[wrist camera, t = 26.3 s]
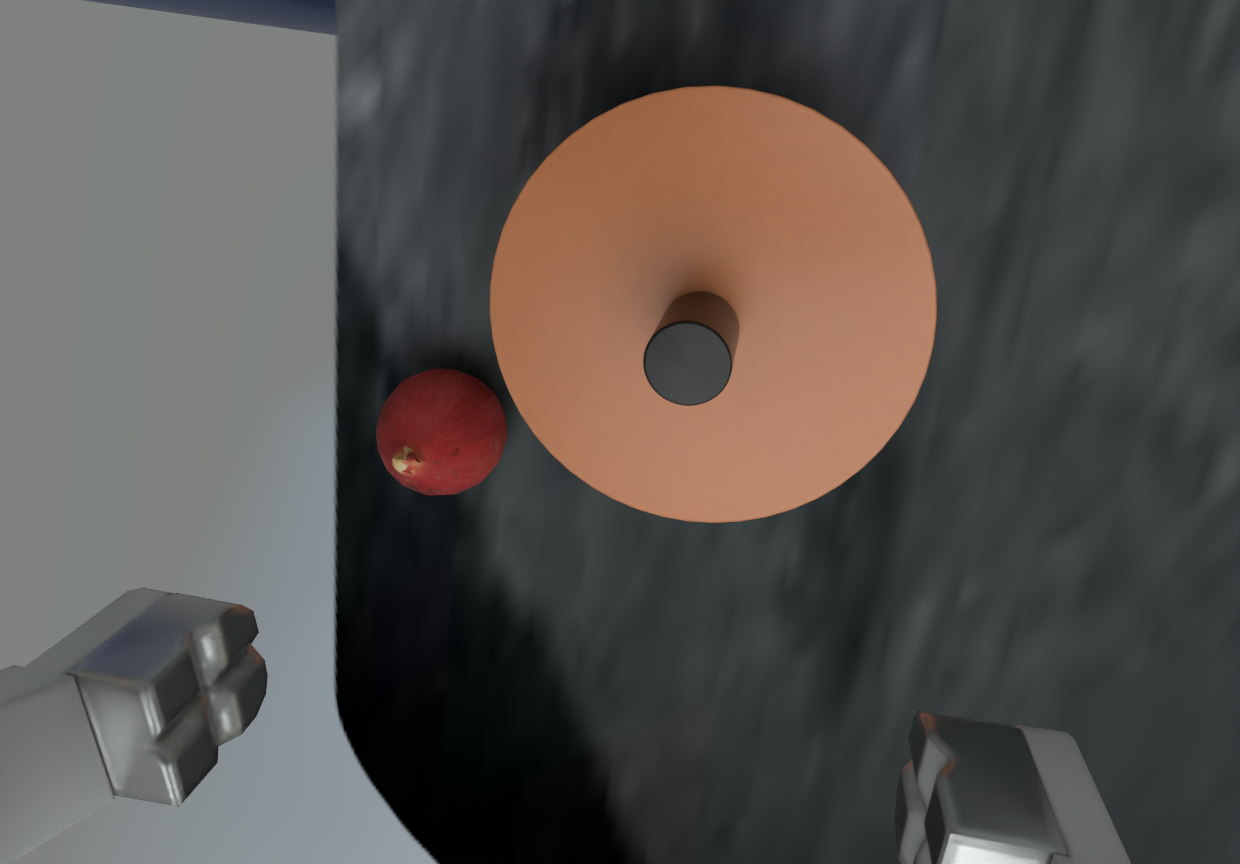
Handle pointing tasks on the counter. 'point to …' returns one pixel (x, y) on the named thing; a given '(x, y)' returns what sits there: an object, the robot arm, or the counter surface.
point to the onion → (441, 432)
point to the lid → (713, 304)
